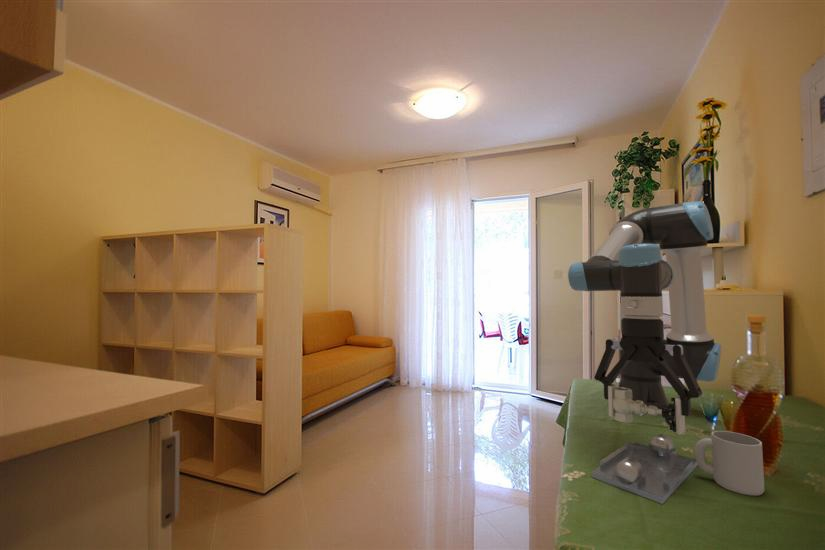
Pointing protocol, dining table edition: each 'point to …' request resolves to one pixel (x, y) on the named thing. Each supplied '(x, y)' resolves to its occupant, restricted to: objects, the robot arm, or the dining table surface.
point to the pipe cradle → (646, 468)
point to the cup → (733, 461)
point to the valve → (639, 408)
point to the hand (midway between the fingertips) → (644, 423)
